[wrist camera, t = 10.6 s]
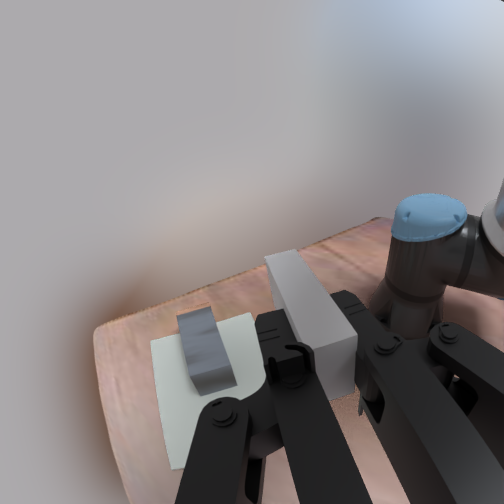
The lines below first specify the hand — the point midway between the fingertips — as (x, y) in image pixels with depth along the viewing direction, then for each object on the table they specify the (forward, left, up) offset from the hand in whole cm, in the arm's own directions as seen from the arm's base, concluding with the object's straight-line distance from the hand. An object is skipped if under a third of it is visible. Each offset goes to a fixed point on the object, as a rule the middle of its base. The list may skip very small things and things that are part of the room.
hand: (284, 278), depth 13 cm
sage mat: (-7, -15, -30) cm, 34 cm away
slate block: (-6, -13, -26) cm, 30 cm away
